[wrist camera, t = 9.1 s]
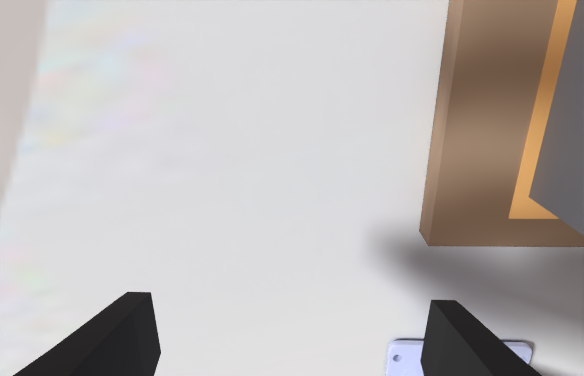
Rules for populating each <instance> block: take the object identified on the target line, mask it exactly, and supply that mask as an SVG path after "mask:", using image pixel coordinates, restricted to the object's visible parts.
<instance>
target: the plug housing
mask: <svg viewBox="0 0 584 376" xmlns="http://www.w3.org/2000/svg"><path fill="white" fill-rule="evenodd" d="M529 198H531V199H532V200H533V201H535V202H536V203H538V204H539V205H541V206H542V207H543V208H545V209H546V210H548V211H549V212H551V213H552V214H553V215H555V216H556V217H558V218H559V219H561V220H562V221H563V222H565V223H566V224H568V225H569V226H570V227H572V228H573V229H575V230H576V231H578V232H579V233H580V234H582V235H583V236H584V0H577V2H576V6H575V10H574V14H573V18H572V22H571V26H570V30H569V34H568V38H567V42H566V46H565V50H564V55H563V59H562V63H561V67H560V71H559V75H558V79H557V83H556V87H555V91H554V95H553V99H552V103H551V107H550V111H549V116H548V120H547V124H546V128H545V132H544V136H543V140H542V144H541V148H540V152H539V156H538V160H537V164H536V168H535V173H534V177H533V181H532V185H531V189H530V193H529Z"/></svg>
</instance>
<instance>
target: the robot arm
mask: <svg viewBox="0 0 584 376" xmlns="http://www.w3.org/2000/svg"><path fill="white" fill-rule="evenodd" d="M160 354H161V350H160V344H159V338H158V332H157V326H156V320H155V314H154V308H153V302H152V297H151V293H150V292H127V293H125V294H124V295H123V296H121V297H120V298H118V299H117V300H116V301H114V302H113V303H112V304H110V305H109V306H108V307H106V308H105V309H104V310H102V311H101V312H100V313H98V314H97V315H96V316H94V317H93V318H92V319H91V320H89V321H88V322H87V323H85V324H84V325H83V326H81V327H80V328H79V329H77V330H76V331H75V332H73V333H72V334H71V335H69V336H68V337H67V338H65V339H64V340H63V341H61V342H60V343H59V344H57V345H56V346H55V347H53V348H52V349H50V350H49V351H48V352H46V353H45V354H43V355H42V356H40V357H39V358H38V359H36V360H35V361H33V362H32V363H30V364H29V365H28V366H26V367H25V368H23V369H22V370H20V371H19V372H18V373H16V374H15V375H13V376H154V373H155V370H156V367H157V364H158V361H159V357H160ZM395 355H398V356H395ZM531 355H532V349H531V348H530V346H529V345H528V344H527V343H524V342H502V341H501V340H500V339H499V338H498V337H496V336H495V335H494V334H493V333H492V332H491V331H490V330H489V329H488V328H486V327H485V326H484V325H483V324H482V323H481V322H480V321H479V320H478V319H476V318H475V317H474V316H473V315H472V314H471V313H470V312H469V311H467V310H466V309H465V308H464V307H463V306H462V305H461V304H459V303H458V302H457V301H456V300H431V304H430V310H429V315H428V321H427V326H426V332H425V337H424V341H409V340H396V341H393V342H391V343H390V344H389V346H388V354H387V363H386V372H385V376H542V375H540V374H539V373H538V372H537V371H536V370H534V369H533V368H532V367H531V366H530V365H529V362H530V358H531Z"/></svg>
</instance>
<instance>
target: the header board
mask: <svg viewBox="0 0 584 376" xmlns="http://www.w3.org/2000/svg"><path fill="white" fill-rule="evenodd" d="M576 2H577V0H449V7H448V15H447V22H446V30H445V38H444V45H443V53H442V61H441V68H440V76H439V84H438V91H437V99H436V107H435V114H434V122H433V130H432V137H431V145H430V153H429V160H428V168H427V176H426V183H425V191H424V199H423V206H422V214H421V222H420V229H419V231H420V233H421V234H422V236H423V238H424V239H425V241H426V243H427V244H428V246H513V247H584V236H583V235H582V234H580V233H579V232H578V231H576V230H575V229H573V228H572V227H570V226H569V225H568V224H566V223H565V222H563V221H562V220H561V219H559V218H558V217H556V216H555V215H553V214H552V213H551V212H549V211H548V210H546V209H545V208H543V207H542V206H541V205H539V204H538V203H536V202H535V201H533V200H532V199H531V198H529V193H530V189H531V185H532V181H533V177H534V173H535V168H536V164H537V160H538V156H539V152H540V148H541V144H542V140H543V136H544V132H545V128H546V124H547V120H548V116H549V111H550V107H551V103H552V99H553V95H554V91H555V87H556V83H557V79H558V75H559V71H560V67H561V63H562V59H563V55H564V50H565V46H566V42H567V38H568V34H569V30H570V26H571V22H572V18H573V14H574V10H575V6H576Z"/></svg>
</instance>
